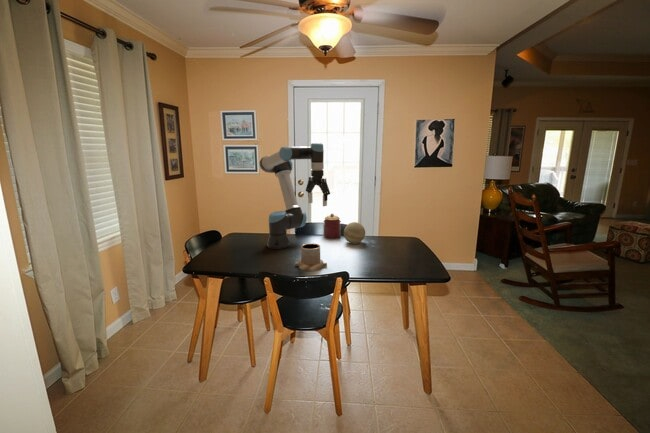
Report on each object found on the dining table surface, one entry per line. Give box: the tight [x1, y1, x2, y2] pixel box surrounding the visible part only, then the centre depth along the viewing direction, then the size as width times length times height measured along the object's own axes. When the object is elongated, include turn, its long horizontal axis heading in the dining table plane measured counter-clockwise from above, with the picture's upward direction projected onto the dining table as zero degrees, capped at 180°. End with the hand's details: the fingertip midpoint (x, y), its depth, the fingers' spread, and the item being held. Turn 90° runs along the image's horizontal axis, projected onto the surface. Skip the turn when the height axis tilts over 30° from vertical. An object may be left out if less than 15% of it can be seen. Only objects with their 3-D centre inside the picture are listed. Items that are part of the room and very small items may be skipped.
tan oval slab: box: [294, 258, 328, 272], centre depth 174 cm, size 18×14×2 cm
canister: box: [323, 213, 342, 239], centre depth 231 cm, size 13×13×18 cm
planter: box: [300, 242, 321, 265], centre depth 173 cm, size 11×11×10 cm
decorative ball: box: [343, 221, 366, 245], centre depth 215 cm, size 15×15×15 cm
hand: (317, 204), depth 189 cm, fingers open, 13 cm apart
